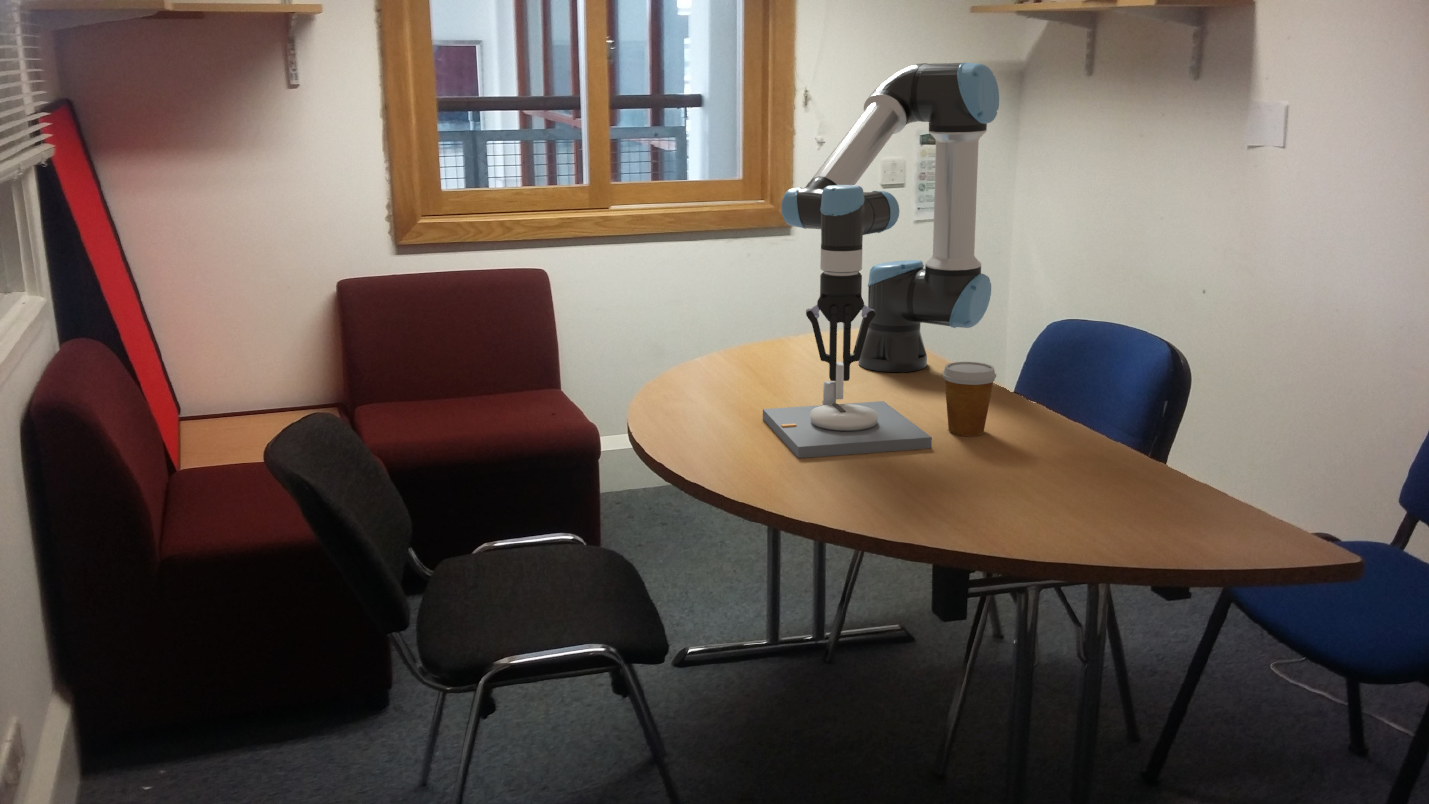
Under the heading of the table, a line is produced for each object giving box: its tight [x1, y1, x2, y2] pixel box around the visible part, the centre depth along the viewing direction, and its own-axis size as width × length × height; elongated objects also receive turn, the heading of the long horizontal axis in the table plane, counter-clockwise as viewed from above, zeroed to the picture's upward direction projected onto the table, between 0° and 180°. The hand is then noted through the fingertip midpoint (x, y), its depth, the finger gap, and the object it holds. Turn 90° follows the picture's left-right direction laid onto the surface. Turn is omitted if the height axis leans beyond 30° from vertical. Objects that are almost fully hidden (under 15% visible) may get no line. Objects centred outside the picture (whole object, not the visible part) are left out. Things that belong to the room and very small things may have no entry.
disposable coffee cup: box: [941, 361, 997, 437], centre depth 210 cm, size 10×10×12 cm
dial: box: [810, 380, 878, 431], centre depth 211 cm, size 16×12×5 cm
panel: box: [762, 400, 933, 459], centre depth 210 cm, size 24×24×2 cm
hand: (839, 397), depth 217 cm, fingers closed
